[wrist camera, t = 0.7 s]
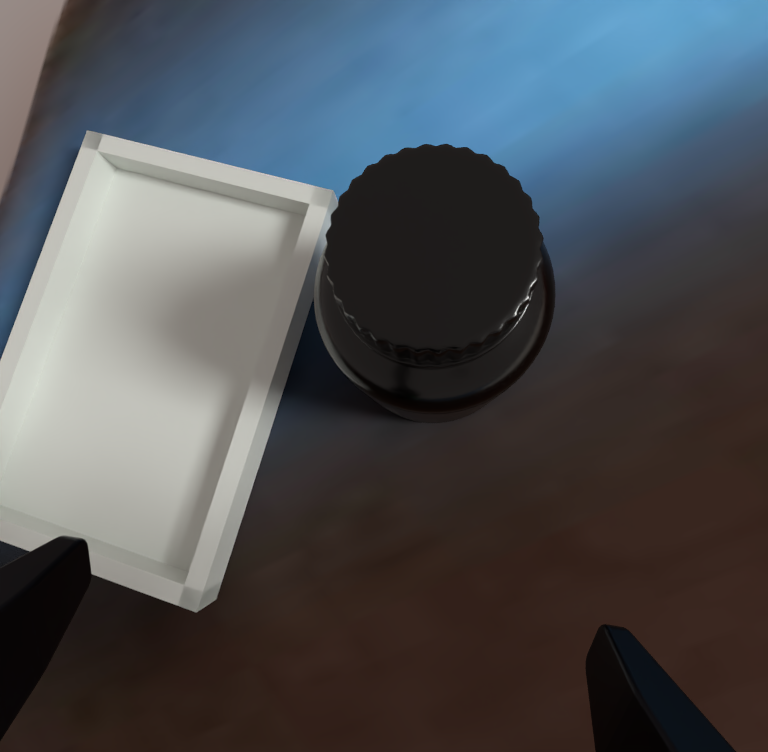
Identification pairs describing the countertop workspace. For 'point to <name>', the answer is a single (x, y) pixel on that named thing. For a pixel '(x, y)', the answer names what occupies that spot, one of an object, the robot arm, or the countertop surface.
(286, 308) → the tray
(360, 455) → the countertop surface
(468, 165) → the supplement bottle
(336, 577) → the countertop surface
